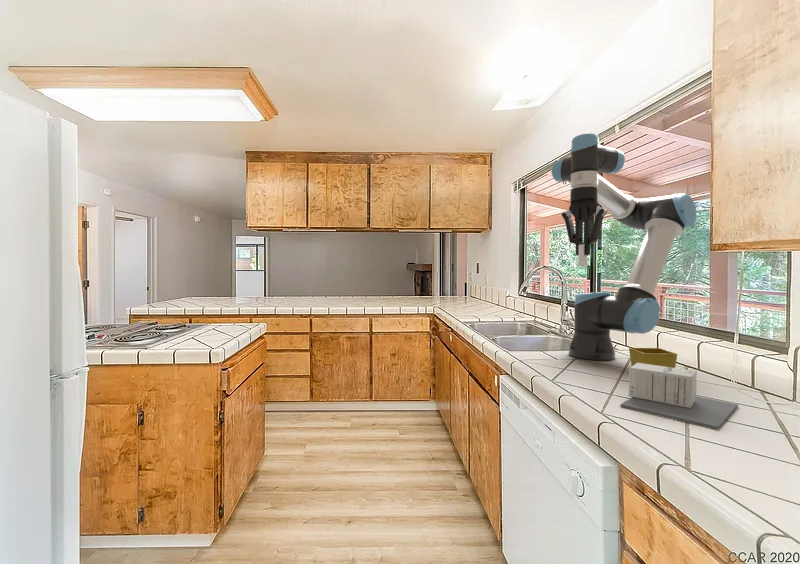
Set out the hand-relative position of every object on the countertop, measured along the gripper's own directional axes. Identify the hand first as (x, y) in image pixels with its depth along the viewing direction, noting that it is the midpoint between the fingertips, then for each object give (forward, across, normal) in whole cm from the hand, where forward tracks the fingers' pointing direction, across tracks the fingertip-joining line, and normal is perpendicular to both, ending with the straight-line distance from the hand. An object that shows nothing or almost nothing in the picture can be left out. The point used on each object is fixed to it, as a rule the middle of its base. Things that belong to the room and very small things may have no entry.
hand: (582, 266), depth 124 cm
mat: (+32, +29, -14) cm, 46 cm away
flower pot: (+33, +18, +4) cm, 37 cm away
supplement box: (+28, +19, -14) cm, 36 cm away
